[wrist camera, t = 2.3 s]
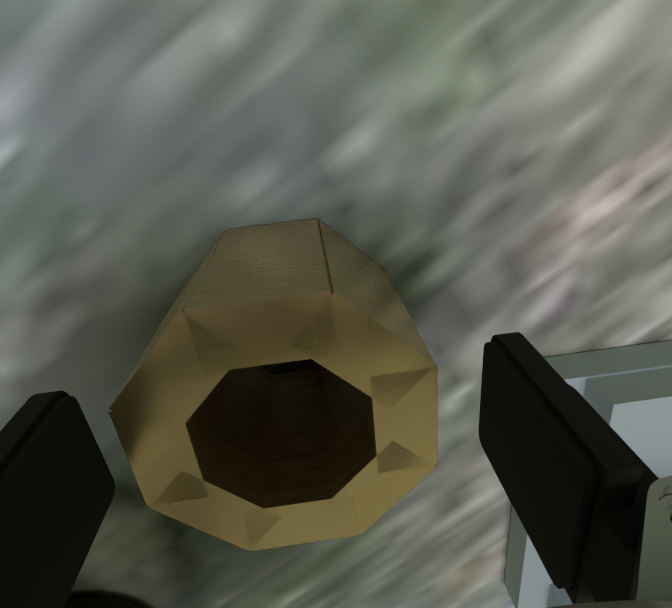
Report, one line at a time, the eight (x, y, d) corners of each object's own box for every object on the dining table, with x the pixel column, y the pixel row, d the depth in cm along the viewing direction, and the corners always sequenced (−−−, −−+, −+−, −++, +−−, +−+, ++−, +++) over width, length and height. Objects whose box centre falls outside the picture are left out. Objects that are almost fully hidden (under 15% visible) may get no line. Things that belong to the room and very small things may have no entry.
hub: (392, 390, 17) (437, 523, 12) (210, 415, 17) (170, 563, 11) (382, 210, 14) (437, 277, 9) (159, 237, 14) (72, 324, 8)
